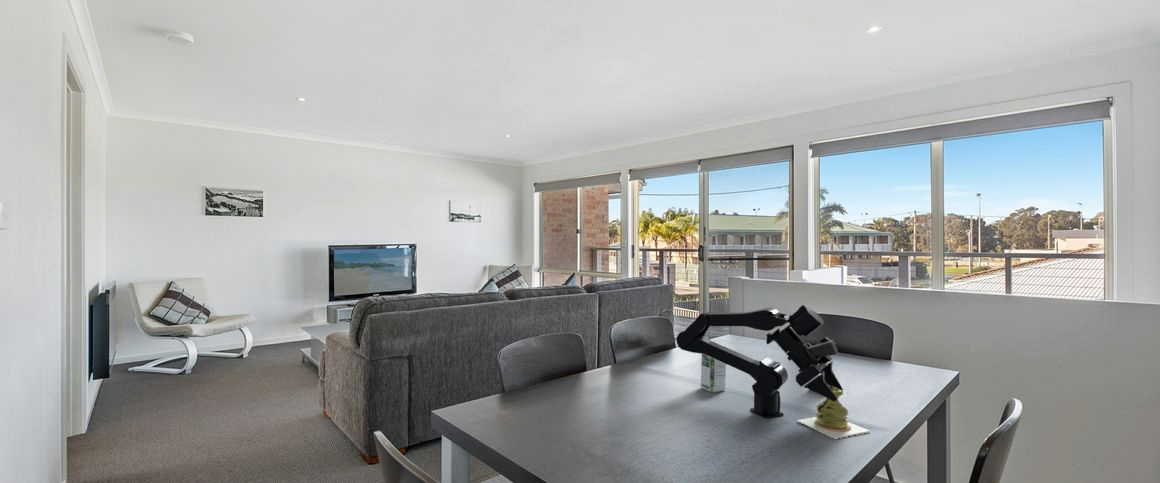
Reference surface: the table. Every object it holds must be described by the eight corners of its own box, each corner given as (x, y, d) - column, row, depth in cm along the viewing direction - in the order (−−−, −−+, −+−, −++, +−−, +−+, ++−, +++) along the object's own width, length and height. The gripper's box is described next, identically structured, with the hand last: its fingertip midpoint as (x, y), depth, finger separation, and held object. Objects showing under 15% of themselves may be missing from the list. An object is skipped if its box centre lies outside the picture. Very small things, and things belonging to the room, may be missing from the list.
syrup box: (700, 387, 161) (700, 343, 161) (714, 385, 164) (715, 342, 163) (711, 393, 156) (712, 347, 156) (726, 390, 158) (726, 345, 158)
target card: (834, 439, 121) (834, 437, 121) (796, 422, 132) (796, 419, 132) (869, 432, 126) (869, 430, 126) (830, 416, 137) (830, 414, 137)
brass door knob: (836, 418, 133) (837, 381, 133) (854, 429, 126) (855, 390, 126) (810, 419, 133) (811, 382, 132) (826, 430, 125) (827, 391, 125)
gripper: (810, 334, 123) (860, 386, 117) (824, 323, 138) (868, 369, 132) (776, 360, 128) (822, 412, 122) (793, 347, 143) (835, 393, 137)
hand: (838, 395), depth 128 cm, fingers open, 9 cm apart
